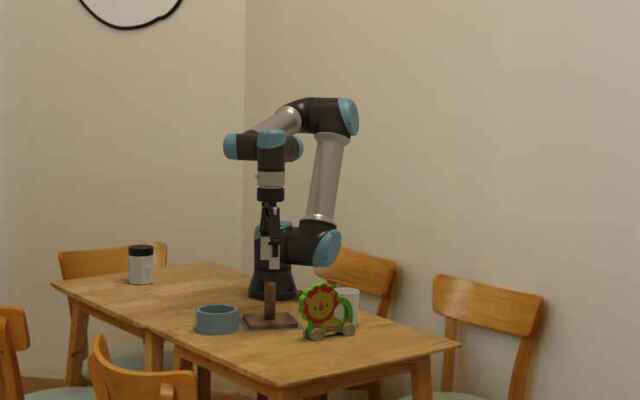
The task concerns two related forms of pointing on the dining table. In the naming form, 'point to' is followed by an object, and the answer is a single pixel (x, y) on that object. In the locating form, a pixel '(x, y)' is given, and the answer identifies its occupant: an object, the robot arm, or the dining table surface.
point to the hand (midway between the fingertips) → (269, 264)
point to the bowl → (217, 319)
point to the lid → (269, 314)
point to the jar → (141, 264)
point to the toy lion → (324, 312)
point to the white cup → (352, 297)
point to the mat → (266, 329)
